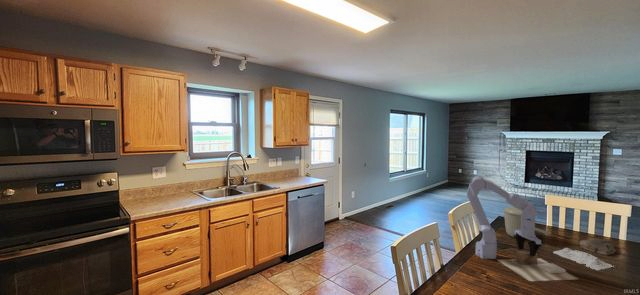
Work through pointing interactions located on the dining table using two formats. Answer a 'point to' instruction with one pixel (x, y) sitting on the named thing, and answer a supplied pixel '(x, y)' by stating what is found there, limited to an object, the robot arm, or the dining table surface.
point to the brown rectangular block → (526, 257)
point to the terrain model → (583, 258)
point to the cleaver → (549, 233)
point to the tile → (551, 268)
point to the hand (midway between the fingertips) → (526, 252)
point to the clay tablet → (598, 246)
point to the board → (534, 271)
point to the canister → (512, 220)
